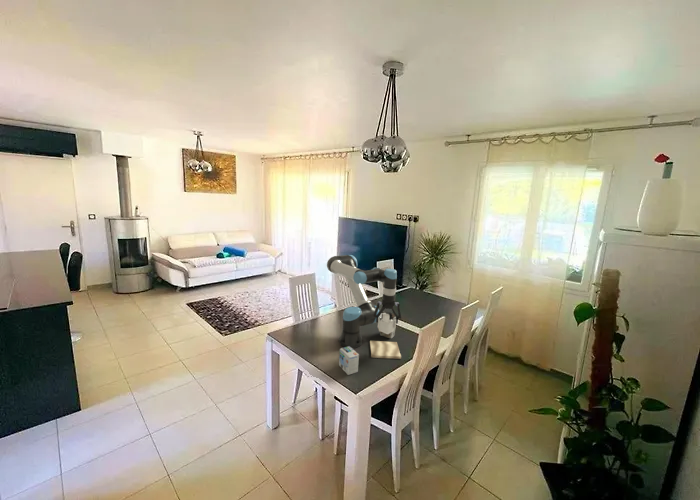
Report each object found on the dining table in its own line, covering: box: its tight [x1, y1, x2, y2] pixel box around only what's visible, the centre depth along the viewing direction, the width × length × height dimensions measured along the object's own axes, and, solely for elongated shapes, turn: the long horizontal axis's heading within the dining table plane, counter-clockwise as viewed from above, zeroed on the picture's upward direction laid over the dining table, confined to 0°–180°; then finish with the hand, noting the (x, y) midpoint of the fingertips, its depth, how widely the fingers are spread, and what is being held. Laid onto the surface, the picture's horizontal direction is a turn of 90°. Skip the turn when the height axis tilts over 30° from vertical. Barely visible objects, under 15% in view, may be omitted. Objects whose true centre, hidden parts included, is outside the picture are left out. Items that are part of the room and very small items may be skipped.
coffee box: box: [379, 311, 396, 339], centre depth 209 cm, size 9×6×16 cm
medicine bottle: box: [378, 311, 395, 334], centre depth 187 cm, size 7×7×12 cm
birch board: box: [369, 340, 402, 360], centre depth 190 cm, size 18×18×2 cm
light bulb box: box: [338, 346, 360, 376], centre depth 168 cm, size 11×7×11 cm, turn 32°
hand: (386, 327), depth 187 cm, fingers closed on medicine bottle, 10 cm apart
